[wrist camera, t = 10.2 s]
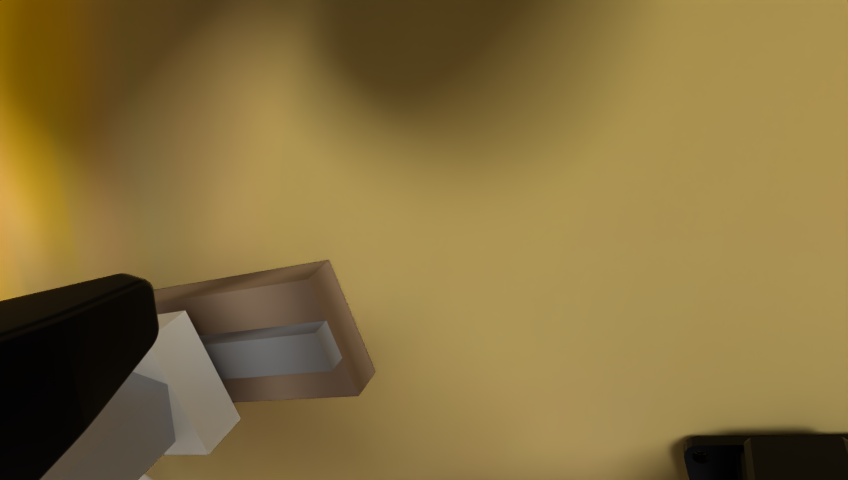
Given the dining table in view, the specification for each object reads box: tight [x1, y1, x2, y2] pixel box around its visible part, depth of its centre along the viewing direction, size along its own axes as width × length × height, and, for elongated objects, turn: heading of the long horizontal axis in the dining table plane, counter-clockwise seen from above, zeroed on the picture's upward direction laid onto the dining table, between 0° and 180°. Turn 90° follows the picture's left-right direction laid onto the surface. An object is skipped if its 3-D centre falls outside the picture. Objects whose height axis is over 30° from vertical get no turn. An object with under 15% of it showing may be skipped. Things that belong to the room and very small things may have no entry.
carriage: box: [40, 311, 241, 480], centre depth 20 cm, size 4×5×10 cm
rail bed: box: [154, 260, 375, 402], centre depth 24 cm, size 12×5×6 cm, turn 110°
